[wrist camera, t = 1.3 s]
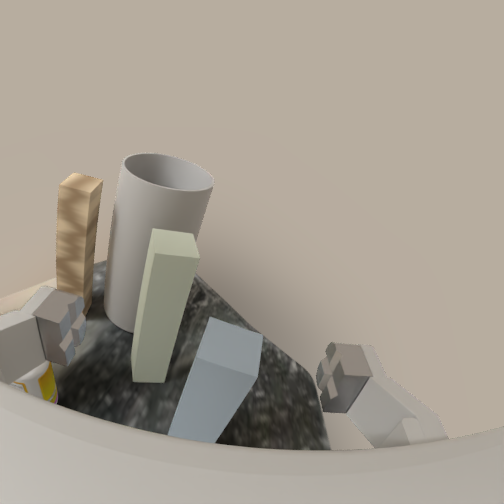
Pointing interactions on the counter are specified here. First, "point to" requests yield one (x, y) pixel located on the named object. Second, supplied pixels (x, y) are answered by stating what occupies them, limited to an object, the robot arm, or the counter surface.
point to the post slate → (217, 381)
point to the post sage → (162, 302)
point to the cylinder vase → (148, 222)
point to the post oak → (77, 234)
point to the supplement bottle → (39, 383)
